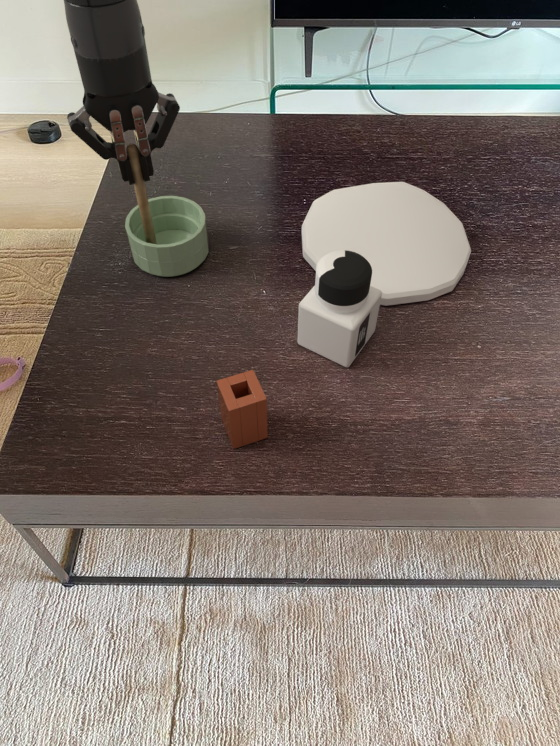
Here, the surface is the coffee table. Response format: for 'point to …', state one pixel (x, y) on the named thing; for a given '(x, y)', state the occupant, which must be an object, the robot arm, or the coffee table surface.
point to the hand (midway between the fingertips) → (138, 179)
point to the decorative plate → (391, 238)
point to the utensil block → (243, 408)
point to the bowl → (169, 236)
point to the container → (339, 308)
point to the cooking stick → (141, 193)
